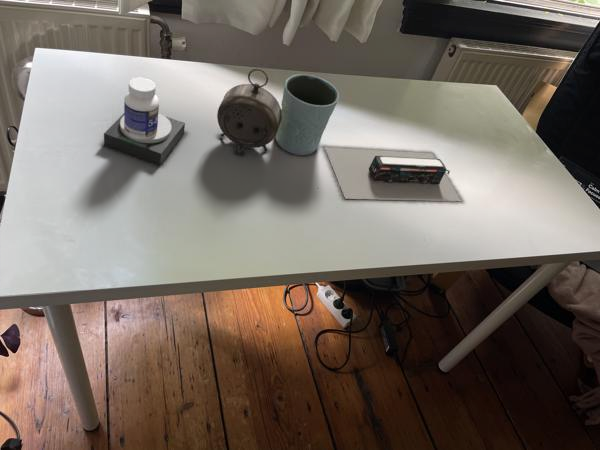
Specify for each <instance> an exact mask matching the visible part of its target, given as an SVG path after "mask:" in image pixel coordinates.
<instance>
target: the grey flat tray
mask: <svg viewBox="0 0 600 450" xmlns="http://www.w3.org/2000/svg"><path fill="white" fill-rule="evenodd" d="M324 149H325V152H326V154H327V157H328V160H329V162H330V164H331V165H330V166H331V167H332V169H333V172H334V175H335V177H336V179H337V181H338V185H339V187H340V189H341V192H342V195H343V197H344V199H345V200H379V201H380V200H385V201H386V200H388V201H390V200H391V201H434V202H435V201H436V202H438V201H439V202H462V200H461V197H459V194H458V193H457V192H456V190H455V189H454V187H453V185H452V183H451V181H450V180H449V179H448V177H447V175H449V174H450V171H451V170H448V169H447V167H446V165H445V164H444V162H443V161H442V159H440V158H436V157H435V155H434V154H433V153H431V152H429V153H428V152H415V151H413V152H411V151H398V150H397V151H396V150H377V149H362V148H361V149H360V148H343V147H324ZM446 172H447V175H446Z"/></svg>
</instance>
